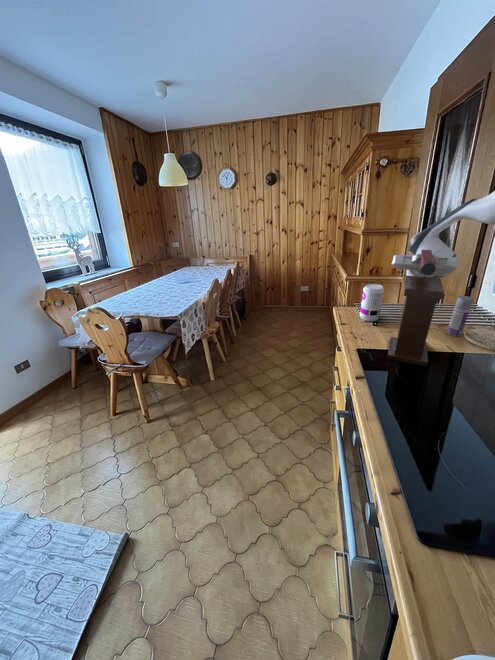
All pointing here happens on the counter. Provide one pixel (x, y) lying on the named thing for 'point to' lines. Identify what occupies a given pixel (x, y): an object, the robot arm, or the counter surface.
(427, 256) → the maroon rod
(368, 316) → the supplement can
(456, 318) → the container
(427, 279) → the shelf stand
